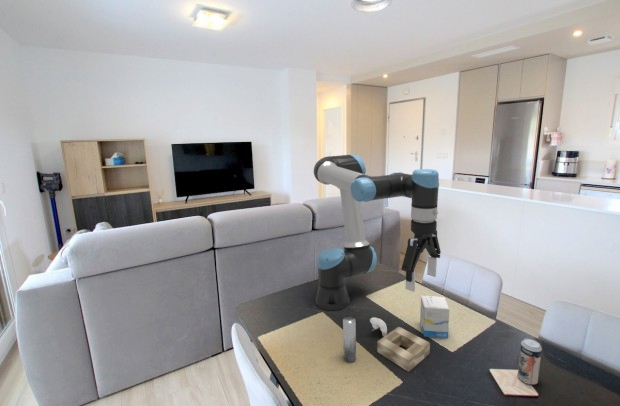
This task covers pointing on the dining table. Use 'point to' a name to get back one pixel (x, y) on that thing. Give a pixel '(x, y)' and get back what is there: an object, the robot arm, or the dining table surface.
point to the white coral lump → (379, 325)
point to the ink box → (434, 316)
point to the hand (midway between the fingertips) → (421, 282)
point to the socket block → (398, 355)
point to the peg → (349, 339)
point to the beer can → (529, 361)
